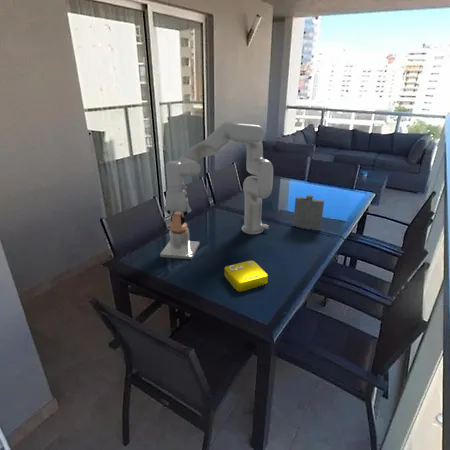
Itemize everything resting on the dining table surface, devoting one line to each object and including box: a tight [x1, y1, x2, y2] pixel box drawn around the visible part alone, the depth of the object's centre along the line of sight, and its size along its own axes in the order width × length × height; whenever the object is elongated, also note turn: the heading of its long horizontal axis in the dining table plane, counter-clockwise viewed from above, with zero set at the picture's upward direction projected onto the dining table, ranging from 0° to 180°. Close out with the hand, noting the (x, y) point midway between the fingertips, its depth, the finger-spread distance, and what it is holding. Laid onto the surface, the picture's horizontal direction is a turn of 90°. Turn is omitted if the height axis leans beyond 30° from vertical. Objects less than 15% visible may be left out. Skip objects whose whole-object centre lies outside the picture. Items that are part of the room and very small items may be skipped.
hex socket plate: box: [159, 227, 201, 260], centre depth 161 cm, size 16×16×12 cm
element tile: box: [223, 260, 269, 292], centre depth 139 cm, size 15×15×5 cm
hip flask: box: [292, 194, 325, 231], centre depth 183 cm, size 16×4×20 cm, turn 65°
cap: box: [169, 211, 188, 233], centre depth 158 cm, size 8×8×10 cm
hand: (178, 223), depth 157 cm, fingers closed on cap, 4 cm apart
